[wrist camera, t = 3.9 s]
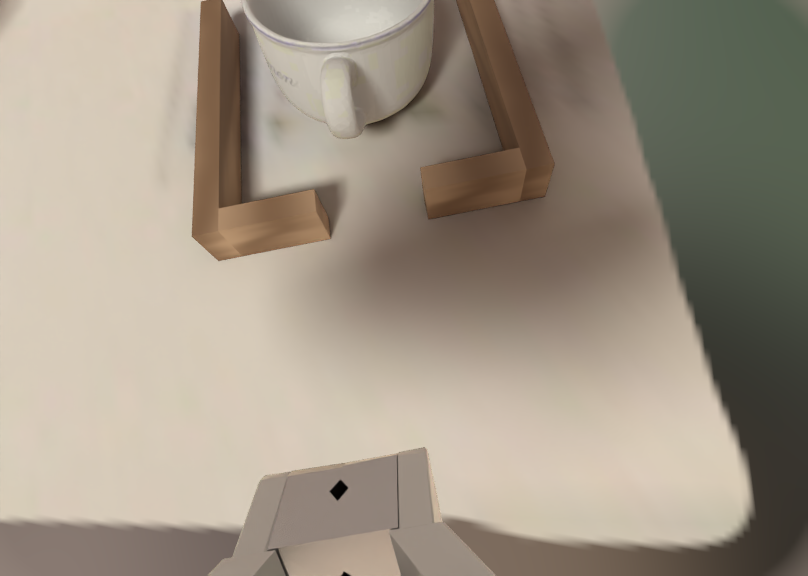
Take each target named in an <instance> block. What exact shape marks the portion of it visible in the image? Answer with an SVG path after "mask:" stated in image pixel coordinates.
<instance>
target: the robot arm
mask: <svg viewBox="0 0 808 576" xmlns="http://www.w3.org/2000/svg"><path fill="white" fill-rule="evenodd" d="M207 576H496V575H495V574H494V573H493V572H492V571H491V570H490V569H489V568H488V567H487V566H486V565H485V564H484V563H483V562H482V561H481V560H480V559H479V557H477V555H476V554H474V552H473V551H472V550H471V549H470V548H469V547H468V546H467V545H466V544H465V543H464V542H463V541H462V540H461V539H460V538H459V537H458V536H457V535H456V534H455V533H454V532H453V531H452V530H451V529H450V528H449V527H448V526H447V525H446V524H445V523H444V522H442V519H441V513H440V508H439V503H438V497H437V493H436V488H435V483H434V479H433V474H432V469H431V465H430V460H429V455H428V452H427V449H426V448H425V447H423V448H418V449H413V450H408V451H403V452H399V453H396V454H390V455H385V456H380V457H374V458H369V459H363V460H358V461H353V462H347V463H341V464H334V465H328V466H321V467H314V468H308V469H301V470H295V471H292V472H285V473H279V474H272V475H266V476H264V477H263V478H262V479H261V480H260V482H259V484H258V487H257V489H256V492H255V495H254V498H253V501H252V503H251V506H250V509H249V512H248V515H247V517H246V520H245V523H244V526H243V529H242V531H241V534H240V537H239V540H238V543H237V545H236V548H235V551H234V554H233V557H232V558H226V559H223V560H222V561H221V562H220V563H219V564H218V565H217V566H216V567H215V568H214V569H213V570H212V571H211V572H210V573H209V574H208V575H207Z"/></svg>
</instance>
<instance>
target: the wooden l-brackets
mask: <svg viewBox="0 0 808 576" xmlns="http://www.w3.org/2000/svg"><path fill="white" fill-rule="evenodd" d="M456 2H457V5H458V8H459V11H460V14H461V18H462V21H463V24H464V27H465V30H466V33H467V37H468V40H469V43H470V46H471V49H472V52H473V55H474V59H475V62H476V65H477V68H478V71H479V74H480V78H481V81H482V84H483V87H484V90H485V93H486V96H487V100H488V103H489V106H490V109H491V112H492V115H493V119H494V122H495V125H496V128H497V131H498V134H499V137H500V141H501V144H502V147H503V150H504V151H500V152H495V153H490V154H485V155H480V156H475V157H470V158H465V159H460V160H455V161H450V162H445V163H440V164H435V165H431V166H426V167H421V168H420V170H421V178H422V186H423V194H424V201H425V205H426V210H427V215H428V219H433V218H438V217H443V216H448V215H453V214H458V213H463V212H468V211H473V210H478V209H483V208H488V207H493V206H499V205H504V204H509V203H514V202H519V201H524V200H529V199H534V198H539V197H544V196H545V194H546V191H547V188H548V184H549V181H550V178H551V174H552V171H553V168H554V164H555V163H554V161H553V158H552V155H551V153H550V150H549V147H548V144H547V142H546V139H545V136H544V134H543V131H542V128H541V125H540V123H539V120H538V117H537V115H536V112H535V109H534V107H533V104H532V101H531V98H530V96H529V93H528V90H527V88H526V85H525V82H524V80H523V77H522V74H521V71H520V69H519V66H518V63H517V61H516V58H515V55H514V53H513V50H512V47H511V44H510V42H509V39H508V36H507V34H506V31H505V28H504V26H503V23H502V20H501V17H500V15H499V12H498V9H497V7H496V4H495V1H494V0H456ZM192 237H193V238H194V239H195V240H196V241H197V242H198V243H199V244H201V245H202V246H203V247H204V248H205V249H206V250H207V251H208V252H209V253H210V254H211V255H213V256H214V257H215V258H216V259H217V260H218V261H221V260H226V259H231V258H236V257H241V256H246V255H251V254H256V253H261V252H266V251H271V250H276V249H281V248H286V247H291V246H296V245H302V244H307V243H312V242H317V241H322V240H327V239H331V238H330V228H329V219H328V216H327V214H326V212H325V210H324V208H323V206H322V204H321V202H320V200H319V198H318V196H317V194H316V192H315V190H314V189H312V190H307V191H302V192H297V193H292V194H287V195H282V196H278V197H273V198H268V199H263V200H258V201H253V202H248V203H243V204H242V196H241V124H240V52H239V33H238V31H237V29H236V27H235V25H234V23H233V21H232V19H231V17H230V15H229V13H228V11H227V9H226V7H225V5H224V3H223V0H206V1H202V2H201V14H200V40H199V66H198V91H197V117H196V143H195V169H194V194H193V220H192Z"/></svg>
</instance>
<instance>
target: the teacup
mask: <svg viewBox="0 0 808 576" xmlns="http://www.w3.org/2000/svg"><path fill="white" fill-rule="evenodd" d="M241 3H242V7H243V10H244V12H245V15H246V17H247V19H248V21H249V22H250V23H251V24H252V26H253V29H254V32H255V34H256V37H257V39H258V42H259V44H260V47H261V49H262V52H263V54H264V56H265V59H266V61H267V64H268V66H269V68H270V70H271V72H272V74H273V77H274V79H275V81H276V82H277V84H278V86H279V88H280V89H281V91H282V92H283V94H284V95H285V97H286V98H287V99H288V100H289V101H290V102H291V103H292V104H293V105H294V106H295V107H296V108H297V109H298V110H300V111H301V112H302V113H304V114H306V115H307V116H309V117H311V118H313V119H315V120H318V121H321V122H324V123H327V124H328V126H329V129H330V131H331V132H332V134H333V135H334V136H335V137H337V138H340V139H350V138H356V137H358V136H359V135H360V134H361V133H362V131H363V128H364V127H365V125H366V124H370V123H373V122H376V121H380V120H382V119H385V118H387V117H389V116H391V115H393V114H395V113H397V112H398V111H400V110H401V109H403V108H404V107H405V106H406V105H407V104H409V103H410V102H411V101H412V100H413V99H414V97H415V96H416V95H417V94H418V92H419V91H420V89H421V88H422V86H423V84H424V82H425V80H426V78H427V74H428V71H429V68H430V63H431V58H432V47H433V32H434V0H241Z"/></svg>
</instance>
